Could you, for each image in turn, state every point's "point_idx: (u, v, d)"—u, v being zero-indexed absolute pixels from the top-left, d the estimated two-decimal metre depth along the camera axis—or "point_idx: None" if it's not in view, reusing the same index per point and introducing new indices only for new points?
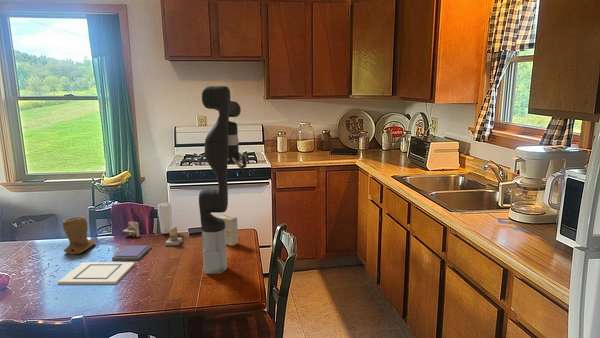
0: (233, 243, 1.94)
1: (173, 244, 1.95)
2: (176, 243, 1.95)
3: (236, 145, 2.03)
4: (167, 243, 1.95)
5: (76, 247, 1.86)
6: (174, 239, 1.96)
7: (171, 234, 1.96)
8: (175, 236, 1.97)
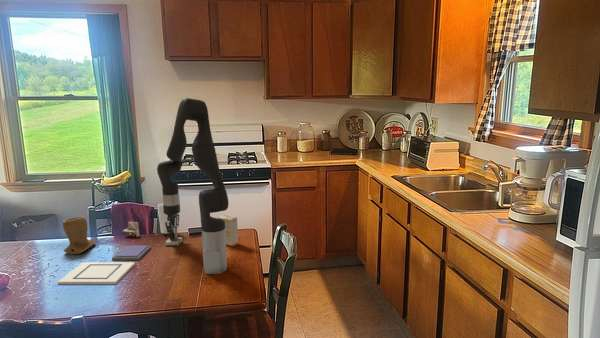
0: (233, 243, 1.94)
1: (173, 244, 1.95)
2: (177, 242, 1.95)
3: None
4: (167, 243, 1.95)
5: (76, 247, 1.86)
6: (174, 239, 1.96)
7: None
8: (175, 236, 1.97)
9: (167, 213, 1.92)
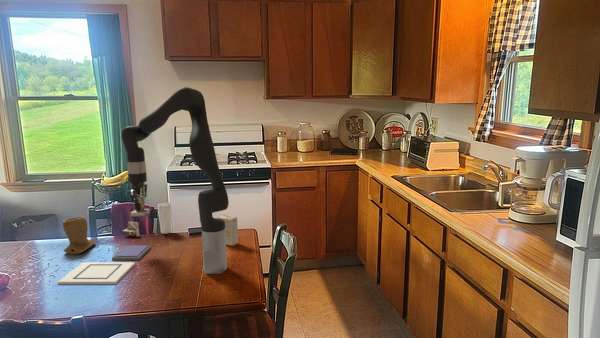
0: (233, 243, 1.94)
1: (139, 215, 1.84)
2: (142, 213, 1.84)
3: None
4: (132, 214, 1.84)
5: (76, 247, 1.86)
6: (140, 210, 1.85)
7: None
8: (141, 206, 1.85)
9: (132, 181, 1.80)
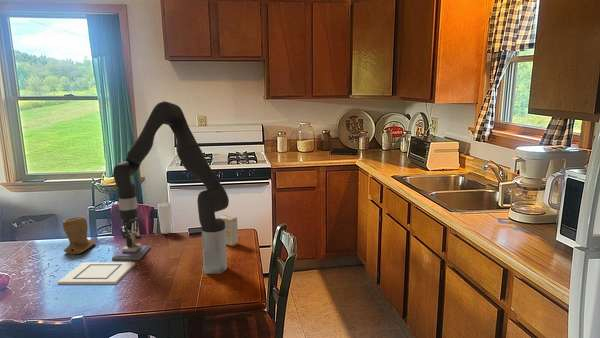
0: (233, 243, 1.94)
1: (130, 251, 1.83)
2: (134, 249, 1.83)
3: None
4: (124, 250, 1.83)
5: (76, 247, 1.86)
6: None
7: None
8: (133, 242, 1.84)
9: (123, 218, 1.80)
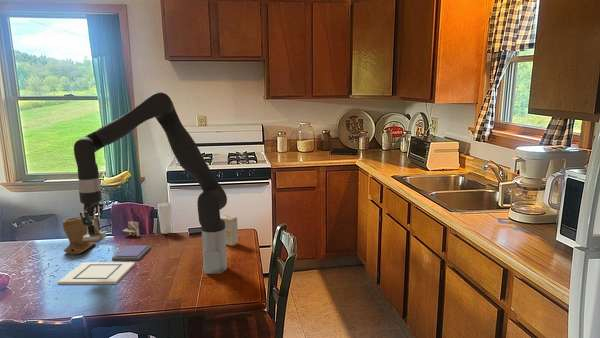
0: (233, 243, 1.94)
1: (92, 239, 1.61)
2: (96, 238, 1.60)
3: None
4: (85, 238, 1.61)
5: (76, 247, 1.86)
6: None
7: None
8: (95, 230, 1.62)
9: (83, 202, 1.57)
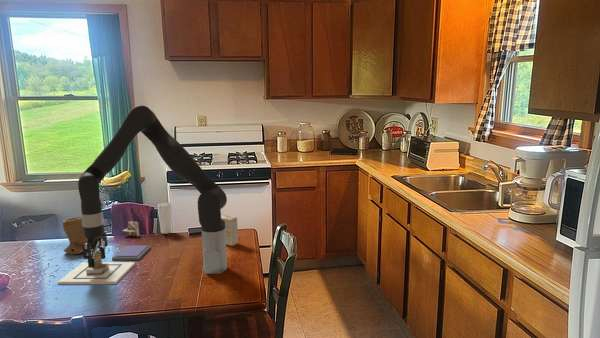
0: (233, 243, 1.94)
1: (95, 272, 1.63)
2: (99, 270, 1.63)
3: None
4: (88, 271, 1.63)
5: (76, 247, 1.86)
6: (97, 266, 1.64)
7: None
8: (98, 262, 1.64)
9: (87, 236, 1.60)
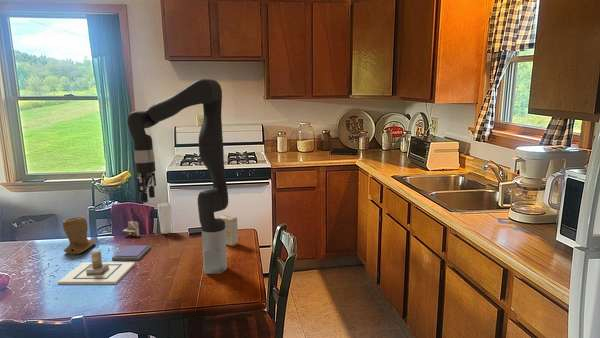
0: (233, 243, 1.94)
1: (95, 272, 1.63)
2: (99, 270, 1.63)
3: None
4: (88, 271, 1.63)
5: (76, 247, 1.86)
6: (97, 266, 1.64)
7: (93, 260, 1.64)
8: (98, 262, 1.64)
9: (140, 171, 1.66)
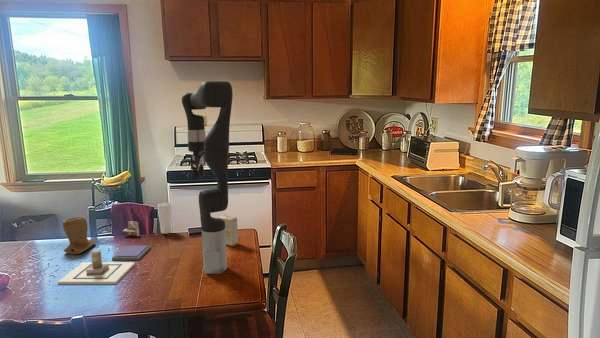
0: (233, 243, 1.94)
1: (95, 272, 1.63)
2: (99, 270, 1.63)
3: None
4: (88, 271, 1.63)
5: (76, 247, 1.86)
6: (97, 266, 1.64)
7: (93, 260, 1.64)
8: (98, 262, 1.64)
9: (193, 150, 1.77)
